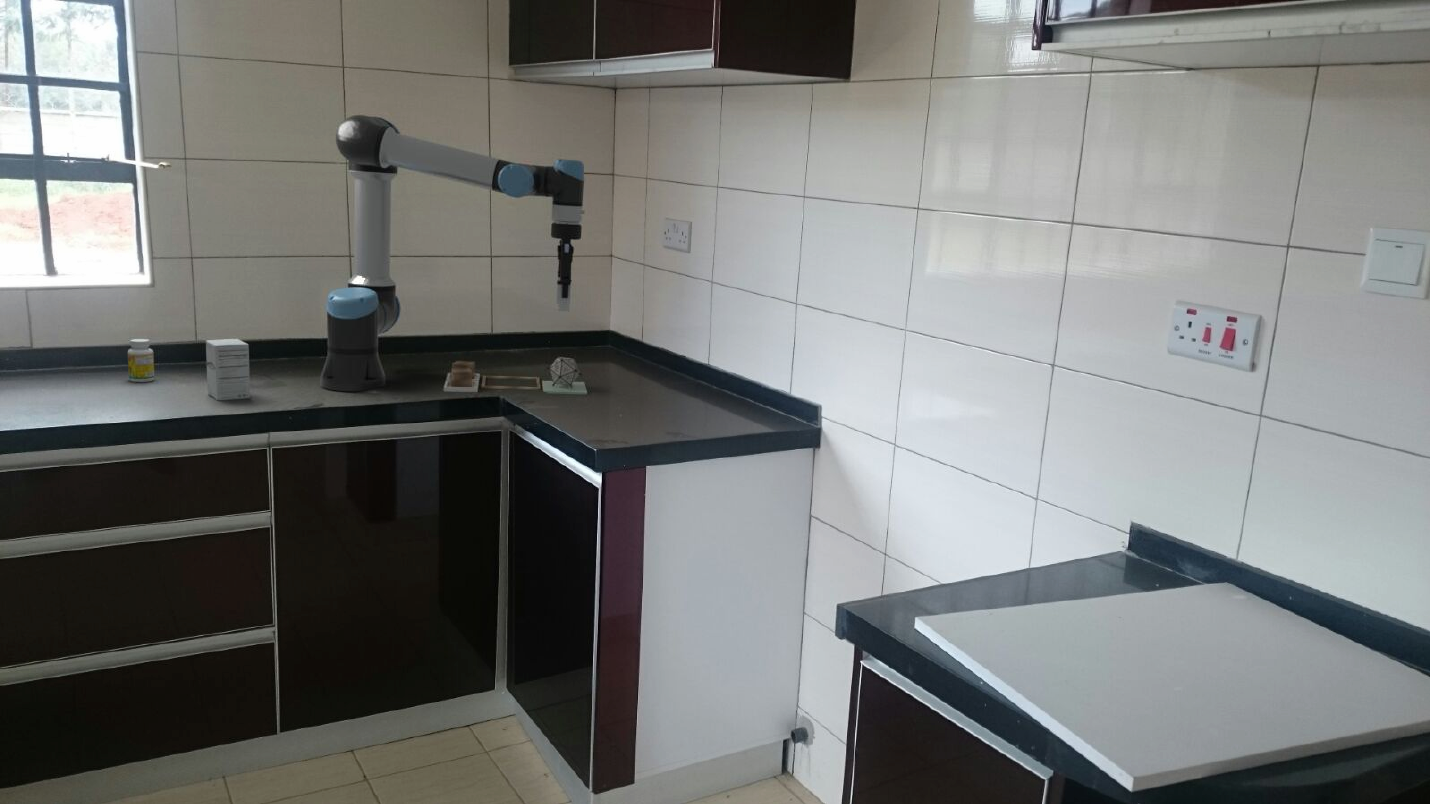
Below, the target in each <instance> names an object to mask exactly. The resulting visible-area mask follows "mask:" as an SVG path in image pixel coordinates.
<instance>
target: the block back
mask: <svg viewBox="0 0 1430 804" xmlns="http://www.w3.org/2000/svg"><path fill="white" fill-rule="evenodd" d="M475 368H476V361H466V360H456V361H455V362H453V363H452V364H451V369H470V370H471V371H472V379H475V374H476V369H475Z"/></svg>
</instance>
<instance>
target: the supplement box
mask: <svg viewBox="0 0 1430 804" xmlns="http://www.w3.org/2000/svg"><path fill="white" fill-rule="evenodd" d="M249 346H250V345H249V344H248V343H246V342H244V341H243V340H241V339H239V338H229V339H224V338H223V339H209V340H208V339H207V340H205V349H206V350H205V353H206V354H205V355H206V379H207V380H206V383H207V387H206V388H207V394H208V395H210V396H211V397H213V398H214V399H215V400H217V401H228V400H229V401H230V400H242V399H250V398H251V387H250V382H251V381H250V380H251V379H250V349H249V348H250V347H249Z"/></svg>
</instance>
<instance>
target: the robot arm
mask: <svg viewBox="0 0 1430 804" xmlns="http://www.w3.org/2000/svg"><path fill="white" fill-rule="evenodd" d="M335 143H336V146H337V149H338V152H339V153H340V155H342V156H343V158H345V159H346V160H347V162H348V164H347V165H348V168H347V169H348V172H349V174H351V175H352V177H353V178H354V235H353V237H354V239H353V240H354V242H353V243H354V249H353V251H354V252H353V253H354V255H353V256H354V259H353V262H354V263H353V265H354V267H353V268H354V269H353V270H354V273H353V276H352V277H351V278H349V280H347V287H344V288H338V289H335V290H332V291H330V293H329V294H328V296H327V304H326V306H325V307H326V308H325V309H326V319H327V320H326V325H327V329H326V330H327V356H326V359H325V362H324V366H323V369H322V371H321V374H320V387H321V388H323V389H327V390H331V391H335V392H336V391H339V392H367V391H370V390H371V389H372V390H374V389H378V388H382V387H384V386H386V375H385V371H384V369H383V365H382V363H381V360H380V357H379V335H382V334H384V333H386V332H388V331H390V329H392V328H393V327H394V326H395V325H396V324H397V322H398V321H399V318H400V315H401V309H402V308H401V303H400V302H401V301H400V300H399V298H398V296H397V294H396V292H397V290H396V289H397V284H396V282H395V280H394V279H392V277H391V275H390V273H391V272H390V271H391V209H392V207H391V205H392V204H391V202H392V194H391V193H392V181H393V180H394V179H395V178H396V177H397V176H398V168H401V169H403V170H404V169H405V170H409V171H412V172H413V171H414V172H416V173H420V174H423V175H424V174H425V175H429V176H433V177H437V178H441V179H445V180H449V181H453V182H457V183H461V184H466V185H469V186H473V187H478V188H481V189H486V190H489V191H494V192H496V193H502V194H505V195H507V196H508V197H511V198H523V197H528V196H531V197H545V198H552V203H551V221H552V223H551V224H550V225H551V227H550V237H551V238H553V239H559V241H558V243H559V245H556V246H557V247H556V248H557V249H556V251H557V261H558V268H557V269H558V270H557V283H556V284H557V287H556V288H557V289H556V304H557V305H558V309H557V310H558V312H570V307H571V306H570V305H571V287H572V285H571V284H572V263H573V258H574V257H573V255H574V251H575V248H574V246H573V244H571V243H572V242H571V241H572V240H573V241H574V240H575V241H576V240H577V241H578V240H581V239H582V227H583V226H582V225H581V224H580V223H582V221H583V220H582V219H583V215H584V214H585V213H586V212H585V210H584V209H583V205H584V204H583V203H584V189H585V170H584V169H585V165H584V163H583V162H582V161H581V160H577V159H564V158H563V159H562V158H556V159H554V160H553V164H552V165H550V166H549V165H548V166H547V165H536V164H535V165H534V164H526V163H518V162H517V163H516V162H512V161H509V160H508V161H507V160H504V159H503V160H502V159H499V158H496V157H492V156H488V155H485V154H480V153H476V152H472V151H469V150H468V151H467V150H465V149H462V148H457V147H452V146H449V145H444V144H441V143H438V142H432V141H429V140H425V139H420V138H417V137H414V136H409V135H405V134H402V133H401V132H400V131H399V129H398V128H397V126H396V125H395V124H394V123H392V122H390V121H389V120H387V119H385V118H383V117H378V116H371V115H369V116H368V115H366V114H365V115H364V114H356V115H351V116H349V117H347V118H345V119H344V120H343V121H342V122H341V123H340V124H339V125H338V127H337V129H336V132H335Z"/></svg>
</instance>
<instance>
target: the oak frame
mask: <svg viewBox="0 0 1430 804" xmlns="http://www.w3.org/2000/svg"><path fill="white" fill-rule="evenodd" d="M487 379H504V380H505V379H507V380H509V379H510V380H536V386H508V385H507V386H504V385H503V386H501V385H497V386H496V385H486V380H487ZM540 379H541V378H540V377H538V376H530V377H529V376H509V375H507V376H504V375H482V380H481V387H480V388H481V389H495V390H496V389H499V390H500V389H501V390H529V391H530V390H533V391H534V390H536V391H539V390H541V387H542V386H541V381H540Z"/></svg>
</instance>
